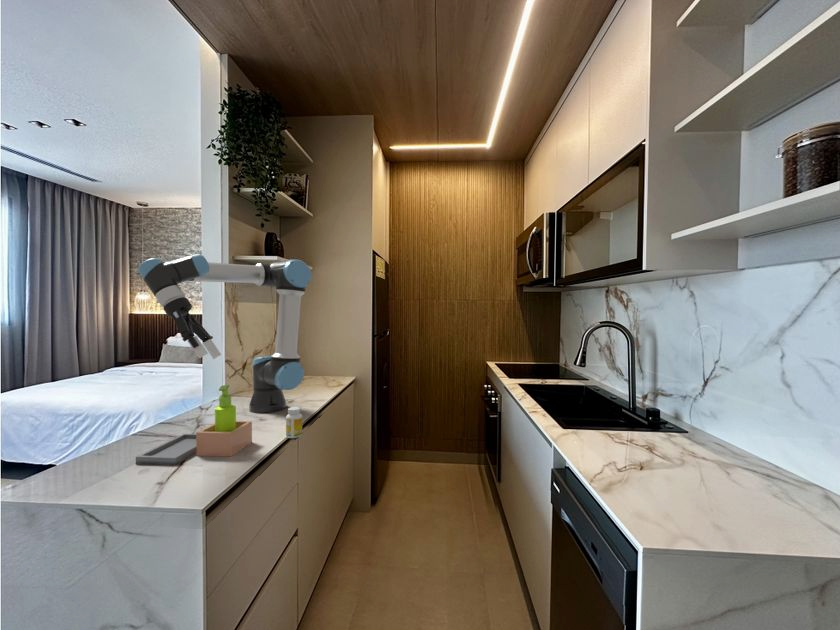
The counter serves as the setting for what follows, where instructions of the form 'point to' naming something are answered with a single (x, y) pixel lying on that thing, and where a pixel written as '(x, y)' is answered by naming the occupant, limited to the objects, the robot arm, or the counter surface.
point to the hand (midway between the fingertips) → (211, 356)
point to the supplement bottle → (293, 423)
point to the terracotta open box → (223, 440)
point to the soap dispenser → (225, 412)
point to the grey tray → (170, 451)
